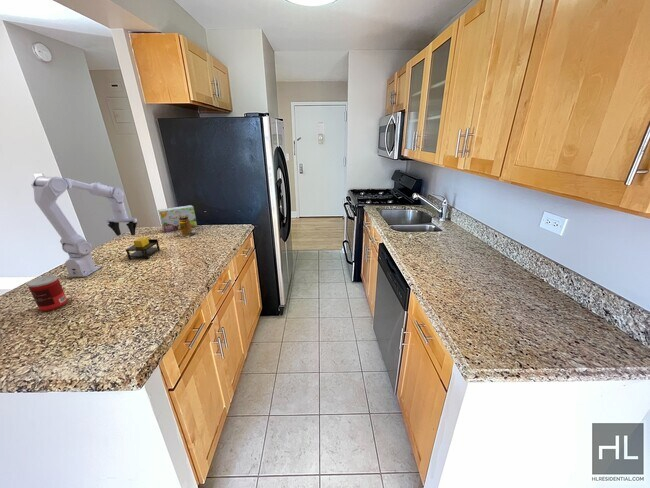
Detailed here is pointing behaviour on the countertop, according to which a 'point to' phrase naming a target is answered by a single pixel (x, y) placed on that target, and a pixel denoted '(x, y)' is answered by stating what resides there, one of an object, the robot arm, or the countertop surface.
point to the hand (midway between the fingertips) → (126, 235)
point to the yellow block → (141, 242)
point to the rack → (143, 249)
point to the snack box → (176, 217)
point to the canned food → (47, 292)
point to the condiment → (185, 226)
